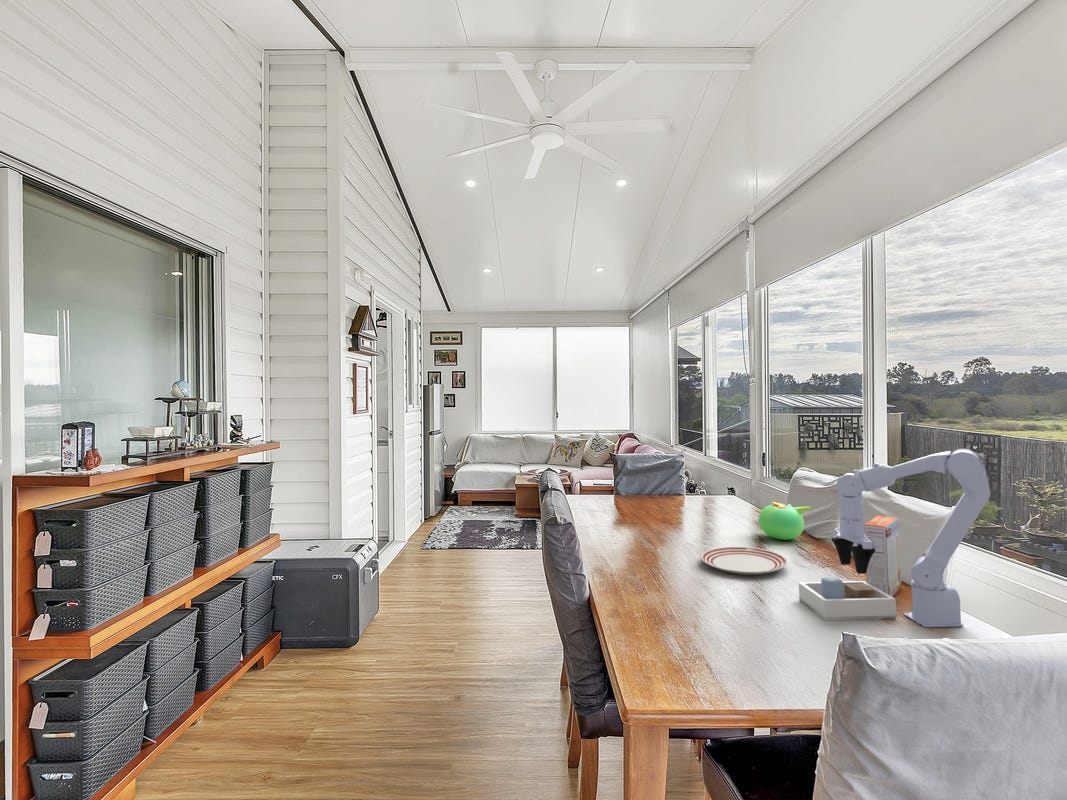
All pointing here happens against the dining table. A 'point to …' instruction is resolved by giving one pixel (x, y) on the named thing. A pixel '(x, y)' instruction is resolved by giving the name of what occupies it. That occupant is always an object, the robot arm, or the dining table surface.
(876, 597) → the tote
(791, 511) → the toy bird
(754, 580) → the dining table surface
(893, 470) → the robot arm
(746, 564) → the dinner plate
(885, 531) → the cracker box
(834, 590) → the blue cylinder
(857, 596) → the walnut cube
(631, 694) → the dining table surface
